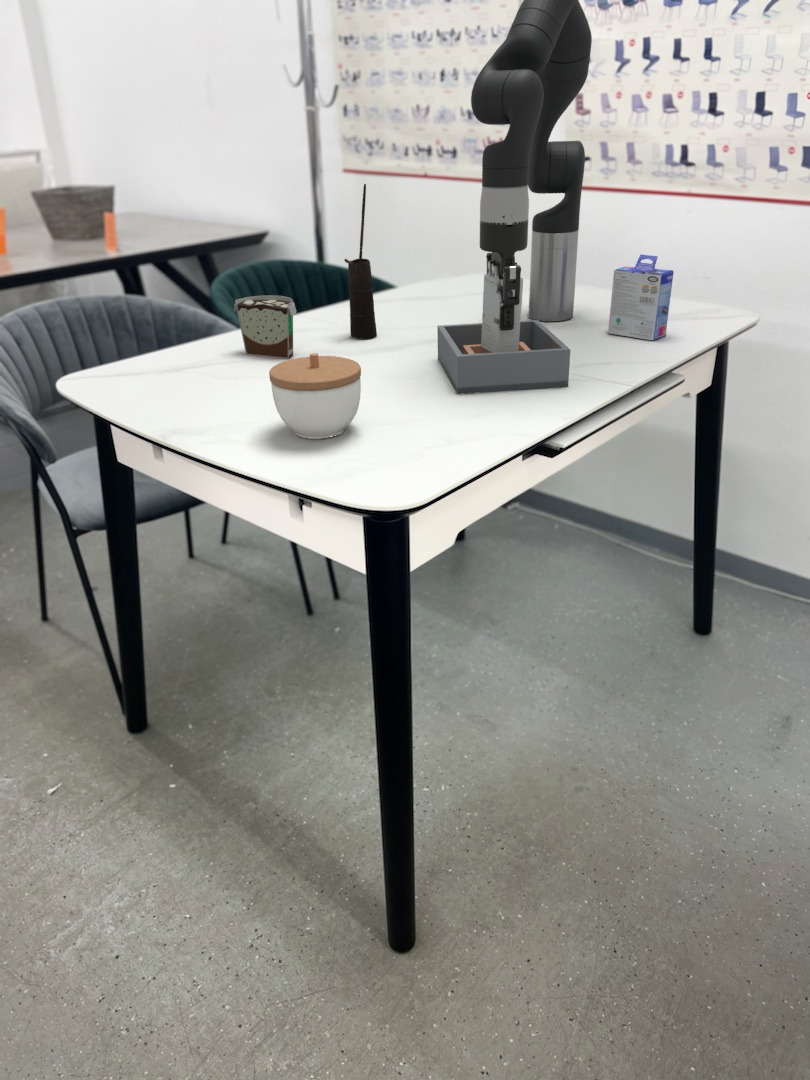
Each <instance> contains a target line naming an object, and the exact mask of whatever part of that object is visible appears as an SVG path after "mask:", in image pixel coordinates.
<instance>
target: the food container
mask: <svg viewBox="0 0 810 1080" xmlns="http://www.w3.org/2000/svg"><path fill="white" fill-rule="evenodd" d="M234 301H235V302H234V304H233V305H234V307H233V311H234V312H237V313H236V314H237V317H238V322H239V326H240V331H241V336H242V342H243V346H244V350H245V351H244V352H245V354H246V356H254V357H263V358H271V359H272V358H273V359H281V360H282V359H283V360H291V359H293V357H294V315H296V314H297V309H296V306H295V302H294V301H293V299H292V298H291V297H288V296H283V295H255V296H245V297H243V298H238V299H234Z"/></svg>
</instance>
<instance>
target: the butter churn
mask: <svg viewBox="0 0 810 1080" xmlns="http://www.w3.org/2000/svg"><path fill="white" fill-rule="evenodd" d="M362 192H363V193H362V204H361V205H362V206H361V225H360V239H359V254H358V258H355V259H352V260H349V259H348V258H344V260H343V261H344V262H345V263H346V264H347V266H348V268H347V269H348V270H347V272H348V273H347V276H348V277H347V281H348V283H347V284H348V285H347V286H348V293H349V295H348V297H349V299H348V300H349V318H350V319H349V323H350V324H349V326H350V332H349V333H350V338H354V339H356V340H373V339H375V338H376V337H377V336H378V333H377V332H378V331H377V325H376V317H375V315H376V314H375V313H376V312H375V301H374V288H373V282H372V281H373V278H372V277H373V276H372V269H371V261H370V260H369V259H368V258H363V246H364V231H365V229H364V228H365V214H366V213H365V211H366V197H367V196H366V194H367V184H366V183H364V184H363V191H362Z"/></svg>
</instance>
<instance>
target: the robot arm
mask: <svg viewBox="0 0 810 1080" xmlns="http://www.w3.org/2000/svg"><path fill="white" fill-rule="evenodd" d="M592 37H593V36H592V31H591V27H590V25H589V21H588V18H587V16H586V14H585V12H584V10H583V7H582V5H581V3H580V1H579V0H523V1H522V3H521V4H520V6H519V8H518V10H517V12H516V15H515V16H514V18H513V21H512V24H511V26H510V28H509V31H508V33H507V36H506V39H504V41H503V42H502V43H501V45H499V47H498V48H497V49H496V50H495V52H494V53H493V54H492V56H491V57H490V58H489V59H488V61H487V62H486V63H485V64H484V66H483V67H482V69H481V70H480V71H479V73H478V75H477V77H476V79H475V81H474V84H473V86H472V89H471V97H470V103H471V104H470V105H471V106H470V107H471V110H472V113H473V115H474V117H475V119H476V120H477V121H479V122H480V123H482V124H484V125H488V126H489V125H494V126H496V125H497V126H498V125H500V126H501V125H509V127H508V130H507V133H506V136H505V137H504V139H503V140H501V141H497V142H494V143H491V144H488V145H487V146H486V147H484V149H483V152H482V161H481V163H482V165H481V166H482V172H481V174H482V175H481V176H482V178H481V186H482V187H481V193H480V194H481V196H480V200H479V201H480V202H479V248H480V249H481V251H484V252H487V253H486V256H485V258H486V274H490V275H491V274H493V276H494V281H495V291H496V293H498V294H499V301H500V302H499V305H500V323H499V328H500V329H501V330H502V331H507V330H512V329H513V328H514V306H516V305H519V302H520V299H519V296H520V277H522V276H521V275H522V274H521V272H522V267H521V265H519V264H518V262H517V261H516V256H515V254H516V253H517V252H521V251H524V250H526V249H527V248H528V242H529V241H528V240H529V239H528V237H529V211H530V210H529V209H530V197H529V191H530V192H531V193H533V194H539V195H540V194H542V195H543V194H544V195H545V194H564V196H563V198H562V199H561V201H560V202H558V203H557V204H556V205H554V206H552V207H550V208H549V209H546V210H543V211H541V212H538V213H536V214H534V215H533V218H532V222H531V226H532V227H531V250H530V252H531V253H530V274H529V276H530V277H529V295H528V296H529V298H528V317H529V319H531V320H538V321H539V322H540V321H542V322H562V321H567V320H570V319H571V320H572V318H573V317H574V304H575V294H576V293H575V292H576V277H577V275H576V274H577V262H578V261H577V258H578V243H579V242H578V241H579V230H580V213H581V199H582V189H583V182H584V174H585V164H586V153H585V152H586V151H585V147H584V145H583V143H582V142H580V140H579V141H578V140H562V141H560V140H559V141H555V140H554V141H549V139H550V137H551V135H552V132H553V130H554V128H555V126H556V124H557V123H558V121H559V119H560V118H561V117H562V115H563V114H564V113H565V111H566V110H567V109H568V108H569V106H570V105H571V104H572V103H573V102H574V100H575V98H577V96H578V95H579V93H580V92H581V90H582V89H583V87H584V86H585V83H586V81H587V79H588V75H589V69H590V68H589V67H590V62H591V61H590V59H591V51H592V42H593V40H592V39H593V38H592ZM499 279H501V280H503V286H501V285H500V282H499ZM512 280H513V281H512ZM507 292H510V293H511V297H507Z"/></svg>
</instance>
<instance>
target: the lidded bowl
mask: <svg viewBox="0 0 810 1080" xmlns="http://www.w3.org/2000/svg"><path fill="white" fill-rule="evenodd" d="M268 375H269V381H270V384H271V390H272V391H271V392H272V397H273V401H274V406H275V409H276V411H277V413H278V415H279V417H280V419H281V420H282V421H283V422H284V424H285V425H286V426H287V427H288V428H289V429H291V430H292V431H294V433H295V435H296V436H297V435H298V437H300V438H302V439H306V438H308V439H307V440H319V439H318V438H326V437H330V436H335V435H338V434H340V433H342V432H343V431H344V430H345V431H346V427H348V426H349V425H350V424H351V423H352V421H353V420H354V418H355V416H356V414H357V413H358V409H359V405H360V401H361V391H362V389H361V387H362V386H361V381H362V380H361V375H362V366H361V365H360V364H359V362H357V361H356V360H354V359H351V358H347V357H342V356H336V355H335V356H334V355H319V353H316V352H315V353H314V352H313V353H309V356H302V357H297V358H290V359H286V360H284V361H282V362H279V363H277V364H275V365H273V366H272V367H271V368H270V370H269V373H268ZM345 431H344V432H345ZM344 432H343V433H344ZM343 433H342V434H343ZM340 435H341V434H340ZM338 436H339V435H338ZM335 437H336V436H335Z"/></svg>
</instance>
